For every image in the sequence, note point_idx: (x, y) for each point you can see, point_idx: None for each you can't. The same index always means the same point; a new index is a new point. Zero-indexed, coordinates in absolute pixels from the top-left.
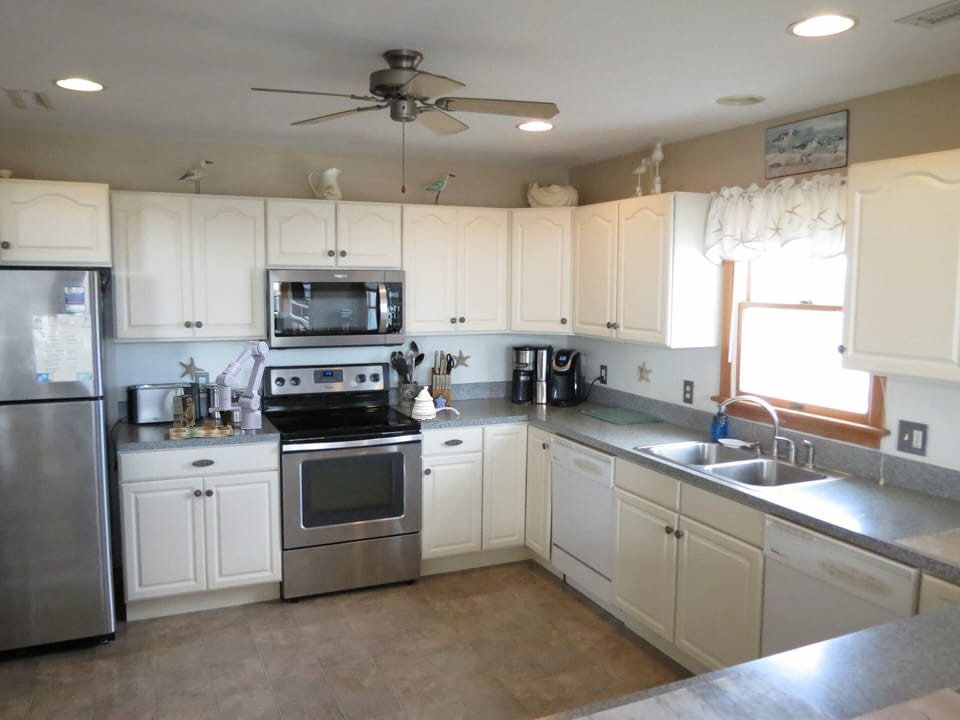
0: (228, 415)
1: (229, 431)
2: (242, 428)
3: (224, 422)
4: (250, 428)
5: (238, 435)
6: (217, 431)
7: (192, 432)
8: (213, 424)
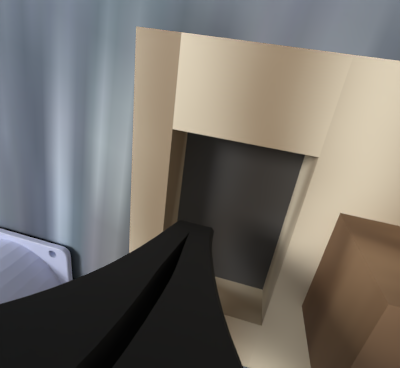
0: (28, 318)
1: (188, 34)
2: (60, 263)
3: (194, 252)
4: (6, 234)
5: (109, 32)
6: (369, 68)
7: None
8: (397, 268)
